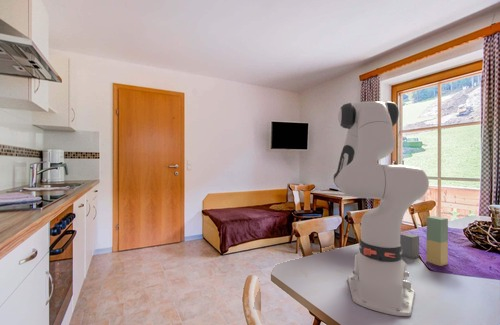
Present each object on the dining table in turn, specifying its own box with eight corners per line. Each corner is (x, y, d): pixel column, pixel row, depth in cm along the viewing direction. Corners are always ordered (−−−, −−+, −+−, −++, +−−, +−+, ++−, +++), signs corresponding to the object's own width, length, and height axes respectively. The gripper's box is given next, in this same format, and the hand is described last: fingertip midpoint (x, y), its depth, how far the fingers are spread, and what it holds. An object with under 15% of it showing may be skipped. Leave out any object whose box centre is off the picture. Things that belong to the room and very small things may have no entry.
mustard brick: (447, 263, 95) (447, 241, 95) (440, 266, 93) (440, 242, 93) (433, 259, 100) (433, 237, 100) (426, 261, 98) (426, 239, 98)
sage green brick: (447, 241, 95) (447, 218, 95) (440, 242, 93) (440, 219, 93) (433, 237, 100) (433, 216, 100) (426, 239, 98) (426, 217, 98)
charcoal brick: (418, 257, 102) (419, 236, 102) (411, 259, 100) (412, 237, 100) (406, 253, 107) (407, 232, 107) (399, 254, 104) (400, 234, 104)
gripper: (359, 180, 117) (385, 182, 105) (386, 180, 126) (414, 181, 114) (359, 193, 117) (385, 196, 105) (386, 192, 126) (413, 195, 114)
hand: (400, 188), depth 109 cm, fingers open, 8 cm apart
